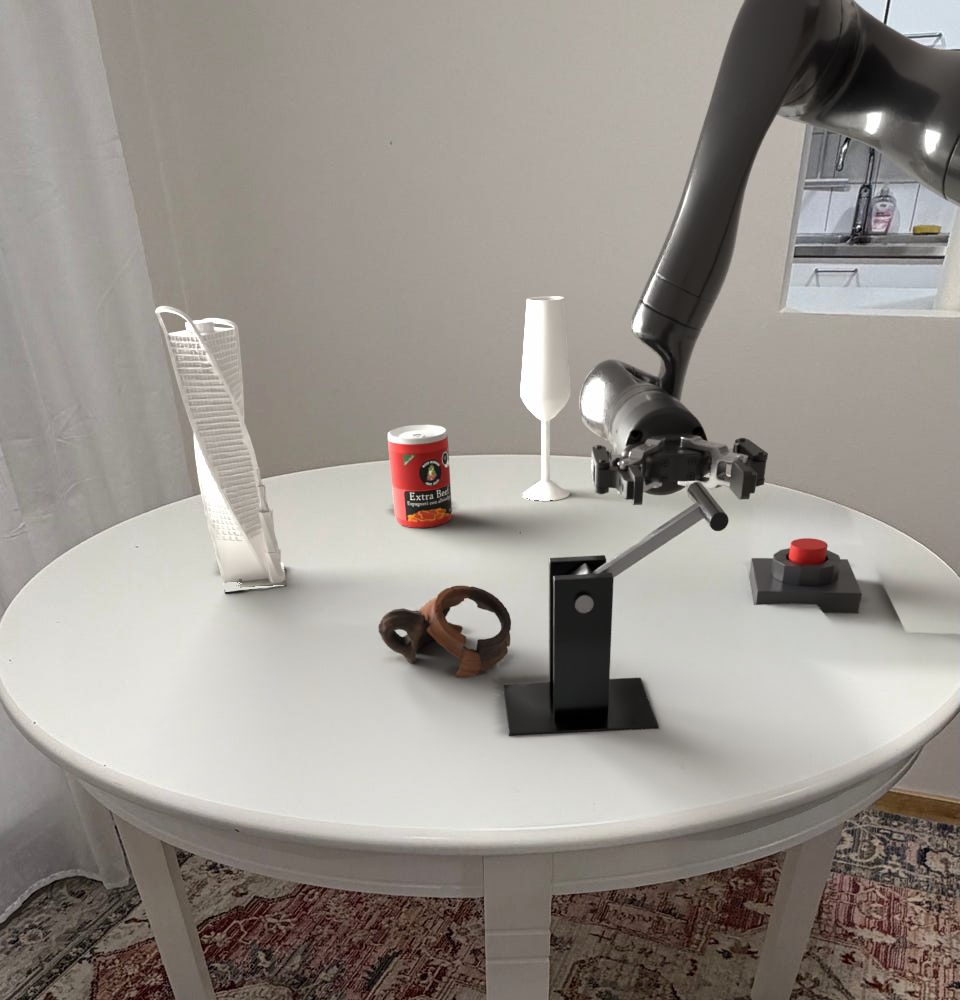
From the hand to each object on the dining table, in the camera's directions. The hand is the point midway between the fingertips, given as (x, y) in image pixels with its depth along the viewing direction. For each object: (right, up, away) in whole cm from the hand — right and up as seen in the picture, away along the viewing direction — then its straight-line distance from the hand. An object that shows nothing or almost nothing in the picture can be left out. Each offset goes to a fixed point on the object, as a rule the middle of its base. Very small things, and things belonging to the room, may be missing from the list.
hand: (693, 489), depth 75 cm
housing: (+17, -2, +25) cm, 30 cm away
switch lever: (-4, -7, -3) cm, 8 cm away
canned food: (-24, +16, +52) cm, 60 cm away
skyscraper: (-44, +3, +36) cm, 57 cm away
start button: (+17, +1, +23) cm, 28 cm away
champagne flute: (-8, +22, +59) cm, 63 cm away
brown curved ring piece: (-20, -11, +14) cm, 27 cm away
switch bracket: (-9, -17, +5) cm, 20 cm away
